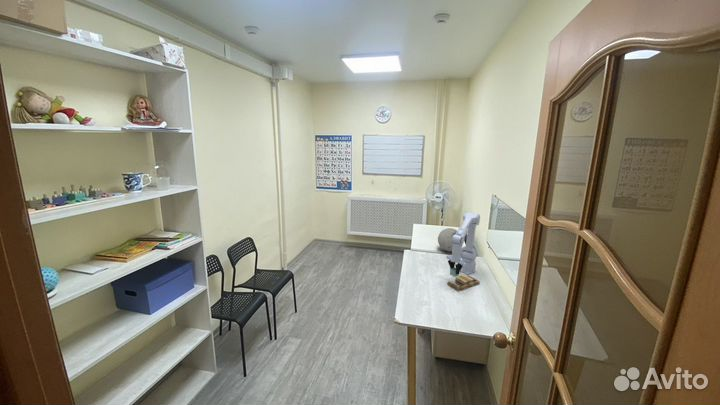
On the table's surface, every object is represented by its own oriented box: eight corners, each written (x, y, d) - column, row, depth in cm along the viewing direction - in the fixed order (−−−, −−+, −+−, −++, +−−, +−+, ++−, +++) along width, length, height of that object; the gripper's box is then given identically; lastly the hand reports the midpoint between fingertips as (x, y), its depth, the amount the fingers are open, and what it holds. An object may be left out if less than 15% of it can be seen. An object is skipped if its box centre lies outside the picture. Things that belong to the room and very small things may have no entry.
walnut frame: (468, 278, 188) (468, 275, 188) (479, 284, 180) (479, 281, 180) (447, 285, 179) (447, 282, 178) (458, 291, 171) (458, 288, 170)
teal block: (454, 273, 181) (454, 267, 180) (458, 275, 177) (459, 269, 176) (449, 274, 179) (450, 268, 178) (454, 276, 175) (454, 271, 174)
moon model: (436, 253, 229) (438, 231, 225) (437, 245, 248) (438, 224, 244) (461, 256, 224) (464, 233, 220) (460, 248, 243) (462, 226, 238)
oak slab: (463, 278, 189) (463, 274, 188) (473, 283, 182) (473, 279, 181) (455, 281, 185) (455, 277, 184) (464, 286, 178) (465, 282, 177)
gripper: (443, 250, 179) (442, 269, 182) (461, 258, 167) (459, 278, 170) (451, 248, 182) (449, 267, 185) (469, 256, 170) (467, 276, 173)
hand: (454, 272), depth 178 cm, fingers closed on teal block, 4 cm apart
